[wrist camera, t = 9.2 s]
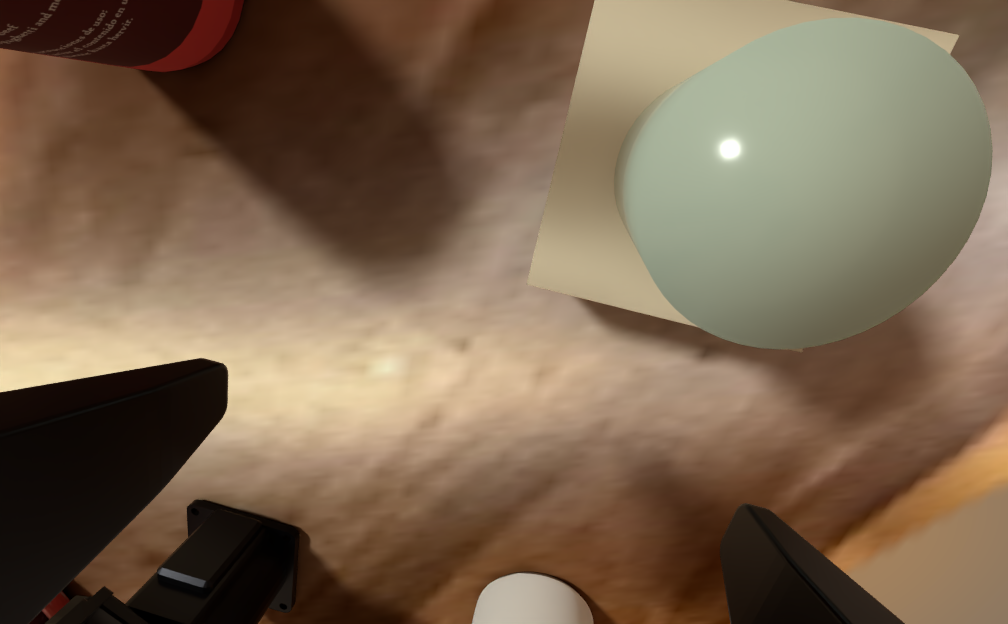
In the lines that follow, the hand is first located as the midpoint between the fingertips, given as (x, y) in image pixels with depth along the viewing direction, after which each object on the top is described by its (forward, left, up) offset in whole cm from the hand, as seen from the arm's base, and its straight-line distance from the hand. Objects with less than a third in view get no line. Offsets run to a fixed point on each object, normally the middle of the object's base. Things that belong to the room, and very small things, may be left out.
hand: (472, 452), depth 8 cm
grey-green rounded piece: (+5, -4, -8) cm, 11 cm away
